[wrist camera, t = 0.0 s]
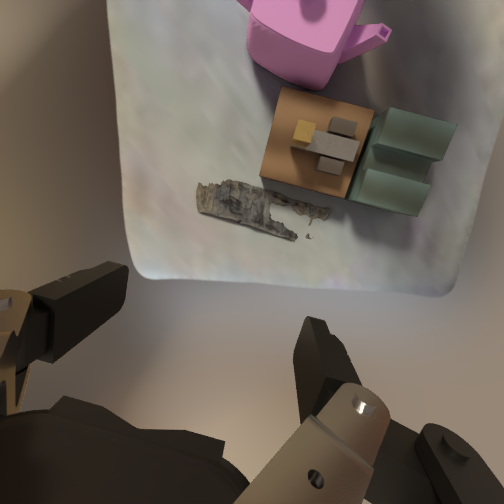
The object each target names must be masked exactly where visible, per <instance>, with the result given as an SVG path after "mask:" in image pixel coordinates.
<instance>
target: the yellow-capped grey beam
mask: <svg viewBox="0 0 504 504" xmlns="http://www.w3.org/2000/svg"><path fill="white" fill-rule="evenodd" d="M315 126H316V124H315V123H311V122H307V121H303V120H300V119H298V122H297V125H296V127H295V130H294V134H293V137H292V141H291V145H290V148H293V149H297V150H300V151H304V152H308V153H312V154H316V155H319V156H323V157H327V158H331V159H334V160H338V161H342V162H346V163H352V162H353V161H354V158H355V155H356V152H357V149H358V146H359V143H360V141H356V140H352V139H348V138H344V137H341V136H337V135H333V134H329V133H325V132H322V131H318V130H314V129H315Z"/></svg>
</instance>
